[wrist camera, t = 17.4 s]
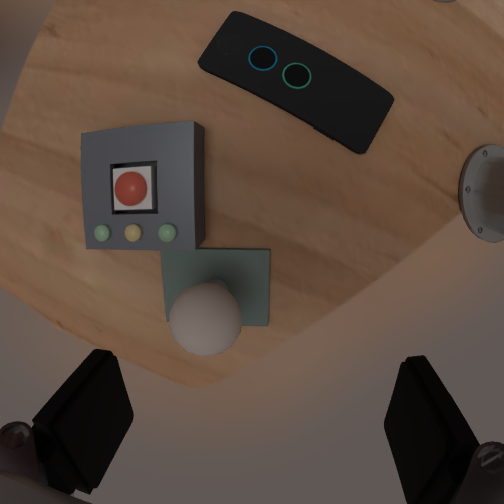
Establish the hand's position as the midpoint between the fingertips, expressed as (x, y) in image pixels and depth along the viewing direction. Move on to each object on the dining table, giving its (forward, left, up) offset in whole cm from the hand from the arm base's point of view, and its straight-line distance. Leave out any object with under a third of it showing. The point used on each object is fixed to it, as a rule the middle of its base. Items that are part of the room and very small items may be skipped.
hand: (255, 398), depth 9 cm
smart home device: (-4, -17, -26) cm, 31 cm away
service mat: (+5, +6, -26) cm, 27 cm away
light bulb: (+5, +6, -25) cm, 26 cm away
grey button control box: (+12, -5, -26) cm, 29 cm away
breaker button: (+12, -5, -23) cm, 27 cm away
